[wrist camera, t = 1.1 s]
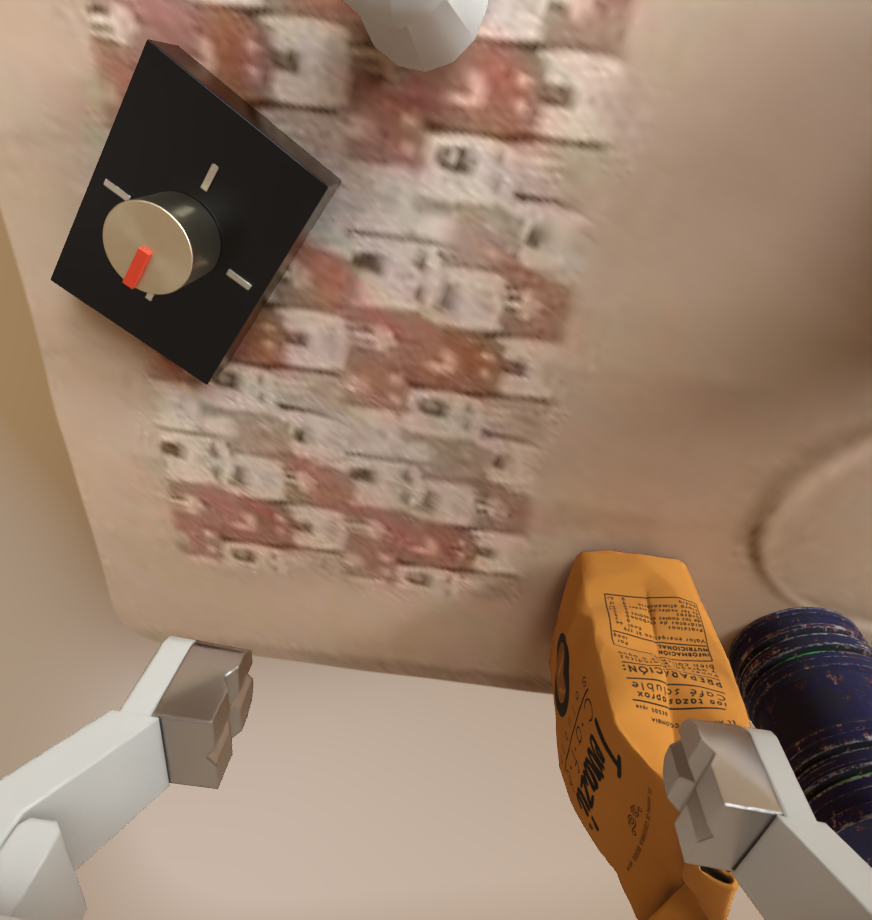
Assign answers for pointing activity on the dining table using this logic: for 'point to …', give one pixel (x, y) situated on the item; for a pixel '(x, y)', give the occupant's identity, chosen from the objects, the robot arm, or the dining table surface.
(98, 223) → the timer panel
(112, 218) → the dial
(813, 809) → the storage jar
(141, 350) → the dining table surface
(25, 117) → the dining table surface
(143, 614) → the dining table surface
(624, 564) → the coffee package
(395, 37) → the salt shaker
